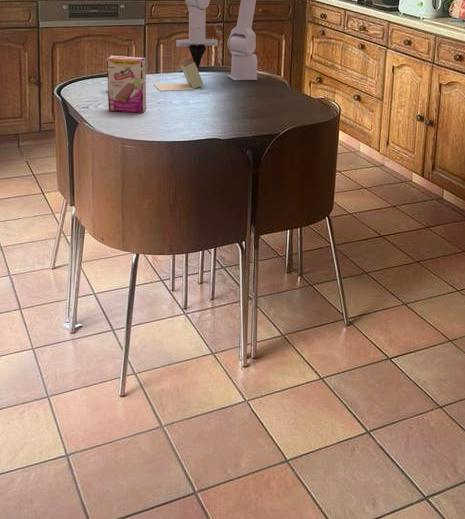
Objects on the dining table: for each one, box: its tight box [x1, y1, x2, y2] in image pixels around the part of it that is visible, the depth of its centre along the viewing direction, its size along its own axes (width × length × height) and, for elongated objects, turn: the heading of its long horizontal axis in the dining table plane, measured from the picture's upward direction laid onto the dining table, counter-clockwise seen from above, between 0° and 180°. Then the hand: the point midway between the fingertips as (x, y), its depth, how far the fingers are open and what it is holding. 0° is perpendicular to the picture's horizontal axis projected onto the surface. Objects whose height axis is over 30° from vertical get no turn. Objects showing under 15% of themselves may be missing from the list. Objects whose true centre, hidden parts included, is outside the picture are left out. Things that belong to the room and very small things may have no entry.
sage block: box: [178, 56, 204, 90], centre depth 259 cm, size 4×7×9 cm, turn 15°
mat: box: [153, 82, 194, 92], centre depth 259 cm, size 12×10×1 cm
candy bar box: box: [106, 55, 147, 114], centre depth 225 cm, size 11×5×16 cm, turn 84°
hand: (196, 66), depth 258 cm, fingers closed
